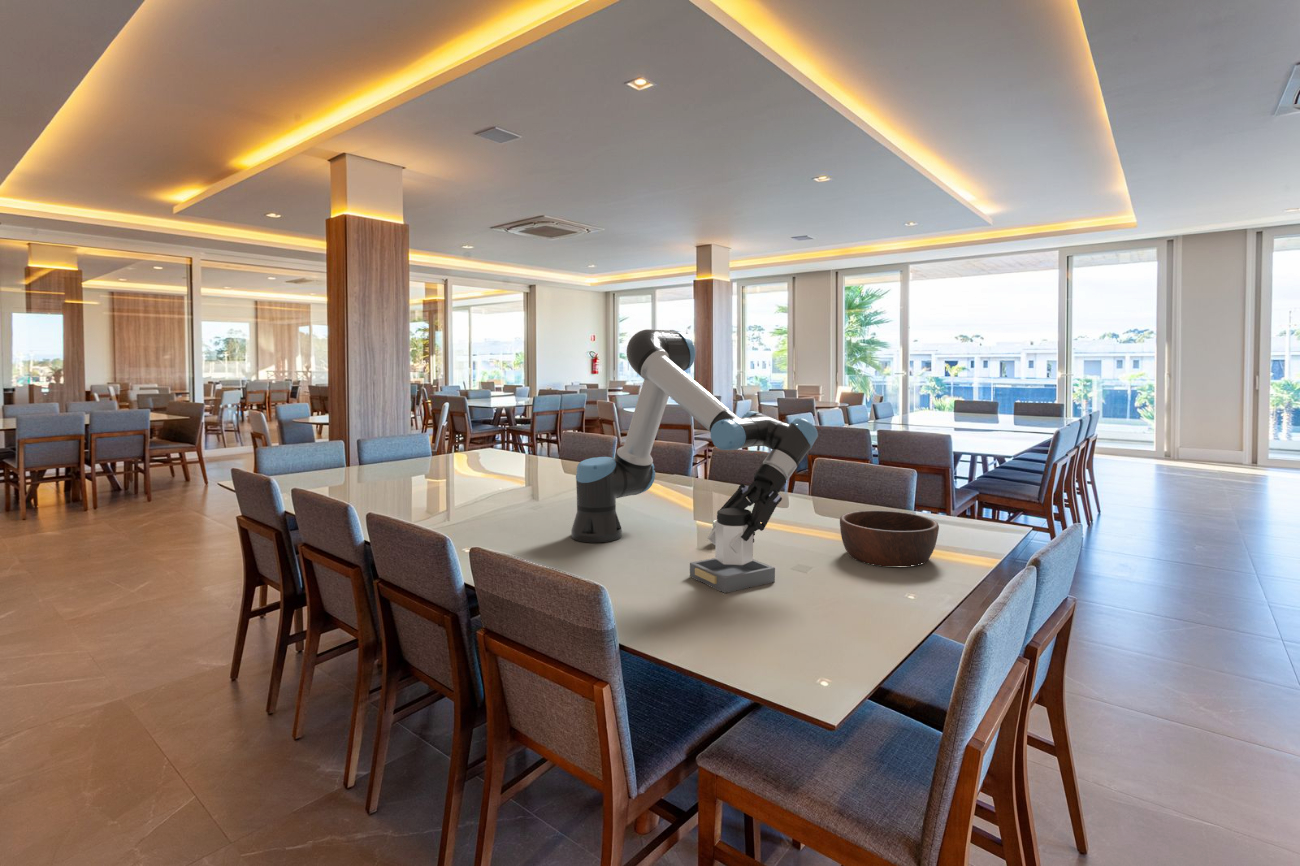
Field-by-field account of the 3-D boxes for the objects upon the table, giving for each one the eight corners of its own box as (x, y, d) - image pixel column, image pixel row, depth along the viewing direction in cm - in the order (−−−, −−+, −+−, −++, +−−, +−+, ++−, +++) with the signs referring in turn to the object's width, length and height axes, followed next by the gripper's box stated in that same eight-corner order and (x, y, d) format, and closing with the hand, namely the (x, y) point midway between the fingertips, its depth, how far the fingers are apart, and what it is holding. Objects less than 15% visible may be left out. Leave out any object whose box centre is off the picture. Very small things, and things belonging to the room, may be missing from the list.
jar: (730, 553, 170) (730, 506, 168) (758, 559, 164) (758, 510, 163) (709, 561, 163) (709, 512, 162) (737, 568, 158) (737, 517, 156)
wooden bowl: (939, 551, 189) (940, 514, 188) (935, 577, 166) (937, 535, 165) (846, 541, 199) (847, 506, 198) (831, 564, 177) (832, 525, 176)
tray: (687, 576, 167) (687, 563, 166) (738, 566, 175) (738, 553, 174) (722, 593, 155) (722, 578, 154) (774, 581, 163) (775, 567, 162)
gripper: (812, 488, 161) (758, 565, 155) (755, 476, 179) (705, 544, 172) (795, 468, 158) (740, 546, 151) (739, 457, 176) (688, 527, 169)
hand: (722, 545), depth 162 cm, fingers closed on jar, 8 cm apart
